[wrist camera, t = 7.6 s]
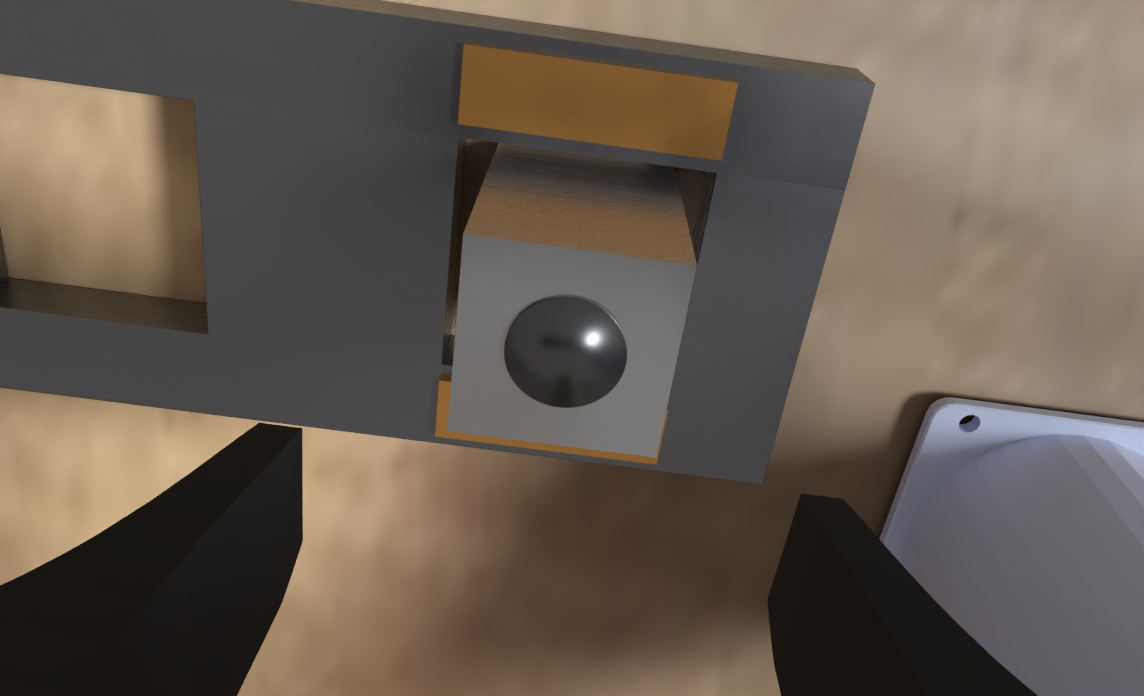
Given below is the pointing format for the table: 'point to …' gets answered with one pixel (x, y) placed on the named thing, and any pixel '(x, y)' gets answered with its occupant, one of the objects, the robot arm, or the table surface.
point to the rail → (427, 209)
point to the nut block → (571, 301)
